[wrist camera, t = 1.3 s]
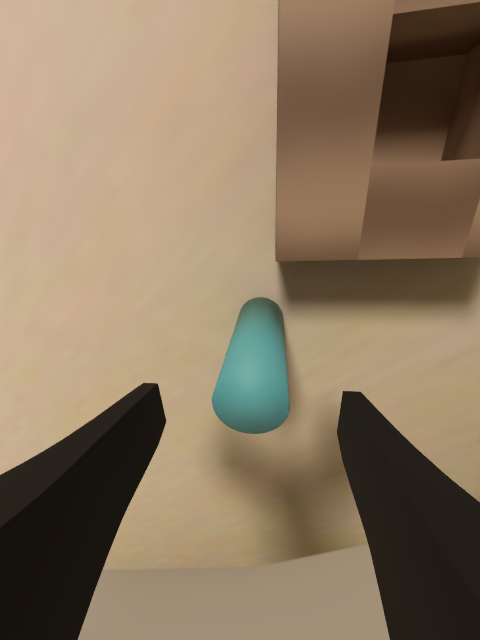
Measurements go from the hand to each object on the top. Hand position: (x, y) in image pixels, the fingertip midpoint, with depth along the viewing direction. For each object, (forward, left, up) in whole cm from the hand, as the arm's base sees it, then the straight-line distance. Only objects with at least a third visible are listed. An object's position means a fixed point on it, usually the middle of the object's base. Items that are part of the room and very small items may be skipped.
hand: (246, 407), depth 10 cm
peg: (0, 0, -9) cm, 9 cm away
